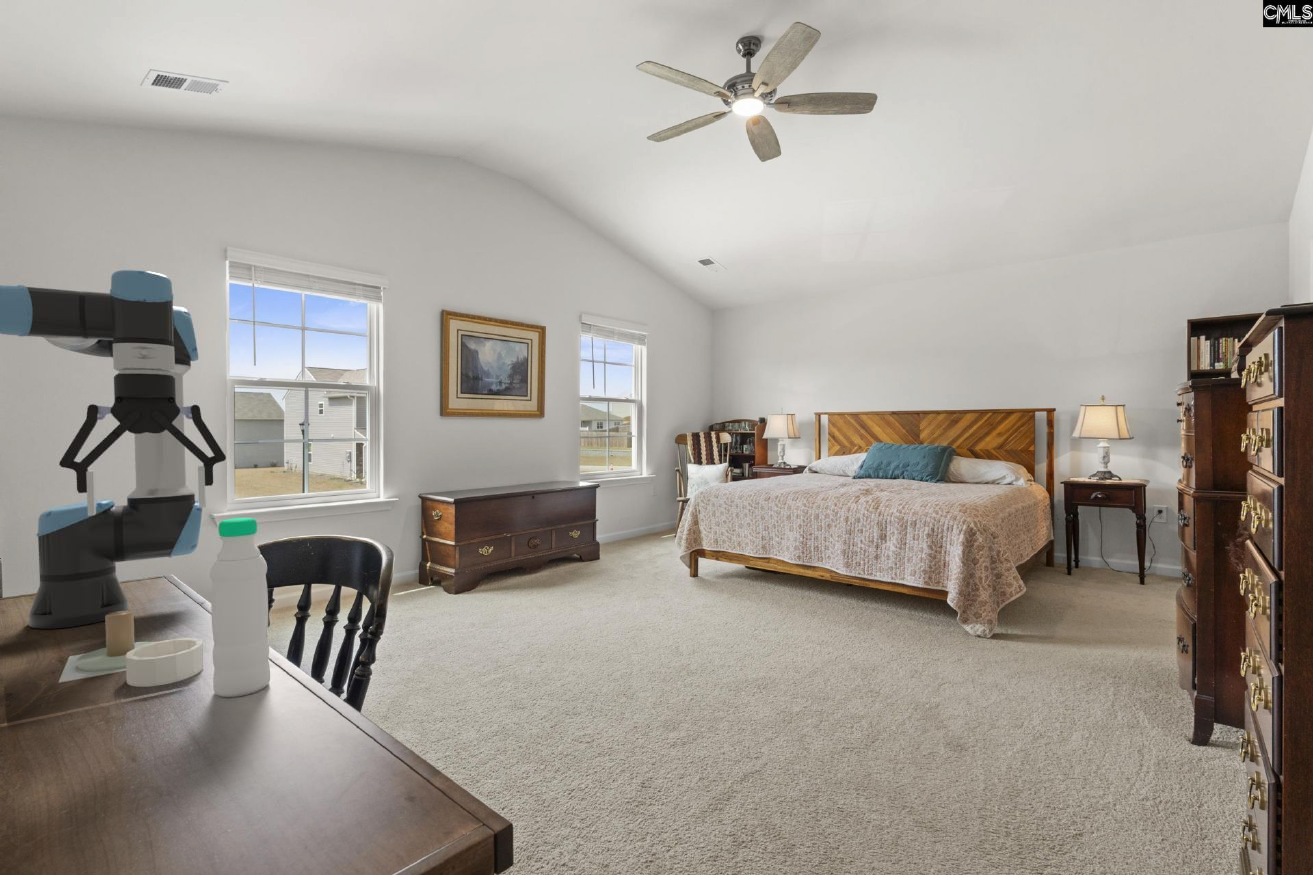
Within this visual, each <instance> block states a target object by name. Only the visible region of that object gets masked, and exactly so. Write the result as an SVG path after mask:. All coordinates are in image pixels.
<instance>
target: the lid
mask: <svg viewBox="0 0 1313 875" xmlns="http://www.w3.org/2000/svg"><path fill="white" fill-rule="evenodd" d="M134 617H135V616H134V611H133V610H128V611H118V612H113V613H110V614H107V615H105V620H104V621H105V647H102V648H99V649H96V650H93V651H89V652H87V654H86V653H83V654H84V655H82V656H81V657H79V658H78V659H77V660H76V665H77V669H78V670H81V671H91V672H92V671H107V670H114V669H120V668H125V667H126V654H127V652H129V651H131V650H133V649H135V648H137V647H140V646H143V645H147V644H150V643H154V642H155V641H136V642H135V622H134V619H135V618H134Z"/></svg>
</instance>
